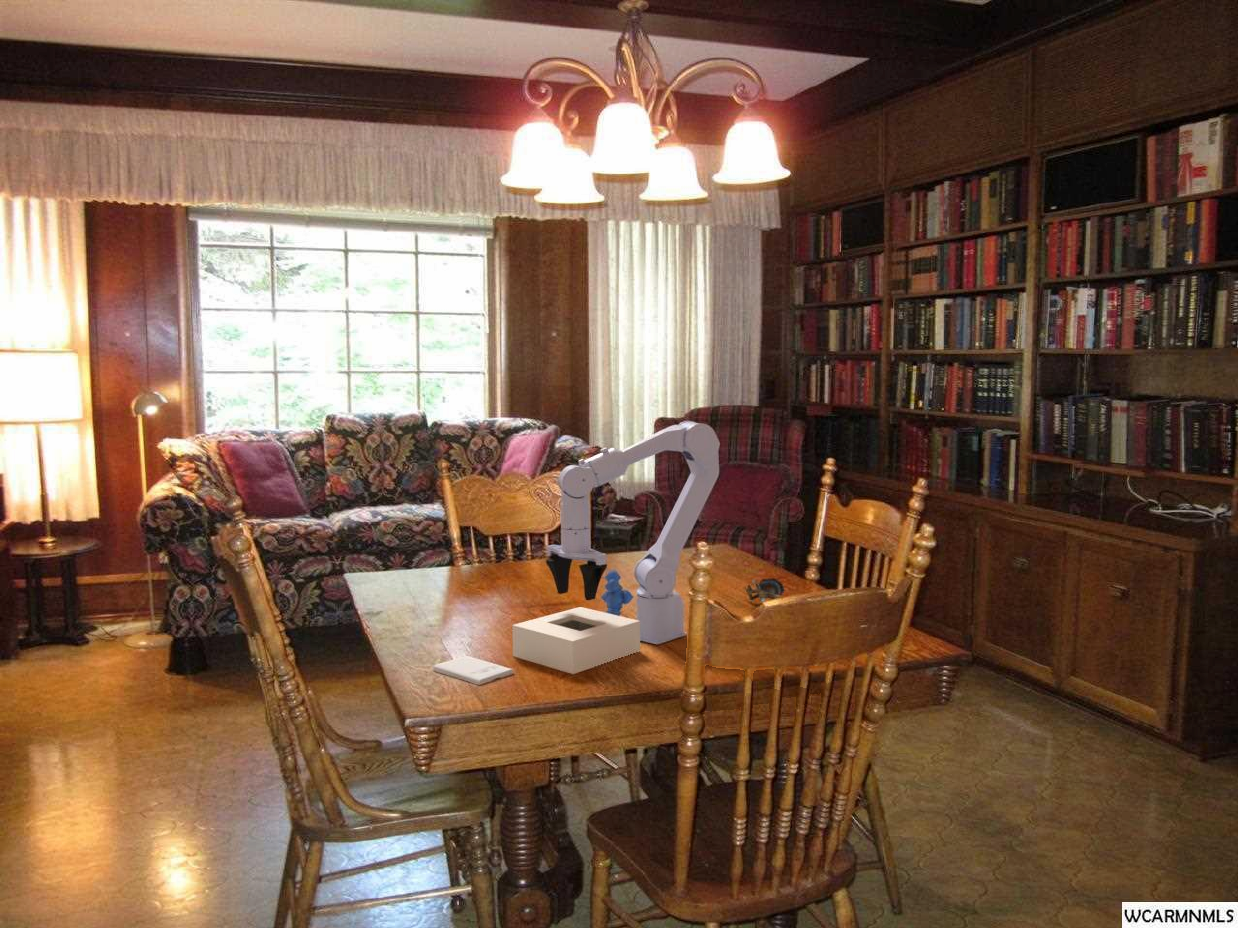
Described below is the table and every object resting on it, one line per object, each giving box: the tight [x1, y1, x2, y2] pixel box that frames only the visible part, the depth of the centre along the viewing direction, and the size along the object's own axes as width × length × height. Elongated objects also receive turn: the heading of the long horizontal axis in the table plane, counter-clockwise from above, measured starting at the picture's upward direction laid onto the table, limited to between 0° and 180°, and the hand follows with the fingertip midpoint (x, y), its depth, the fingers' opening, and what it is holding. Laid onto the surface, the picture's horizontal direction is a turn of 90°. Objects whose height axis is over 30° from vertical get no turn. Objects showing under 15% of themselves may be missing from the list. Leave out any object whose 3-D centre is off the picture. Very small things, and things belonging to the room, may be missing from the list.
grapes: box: [601, 569, 634, 616], centre depth 207 cm, size 12×7×12 cm, turn 0°
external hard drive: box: [432, 655, 515, 686], centre depth 177 cm, size 2×8×12 cm
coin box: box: [511, 606, 641, 675], centre depth 187 cm, size 18×16×6 cm
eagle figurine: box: [743, 577, 785, 604], centre depth 224 cm, size 8×7×9 cm
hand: (576, 596), depth 194 cm, fingers open, 7 cm apart
